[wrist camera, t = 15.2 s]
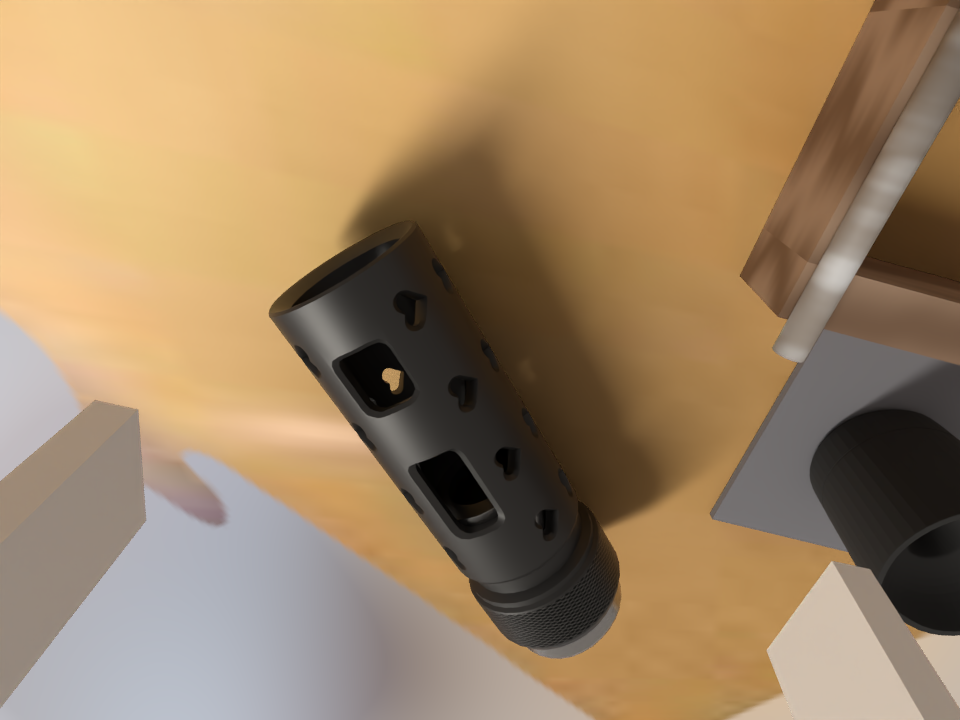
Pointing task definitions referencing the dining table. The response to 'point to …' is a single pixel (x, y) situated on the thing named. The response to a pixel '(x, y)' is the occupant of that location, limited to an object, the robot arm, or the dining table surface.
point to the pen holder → (898, 509)
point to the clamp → (865, 193)
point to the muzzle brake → (455, 437)
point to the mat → (828, 429)
